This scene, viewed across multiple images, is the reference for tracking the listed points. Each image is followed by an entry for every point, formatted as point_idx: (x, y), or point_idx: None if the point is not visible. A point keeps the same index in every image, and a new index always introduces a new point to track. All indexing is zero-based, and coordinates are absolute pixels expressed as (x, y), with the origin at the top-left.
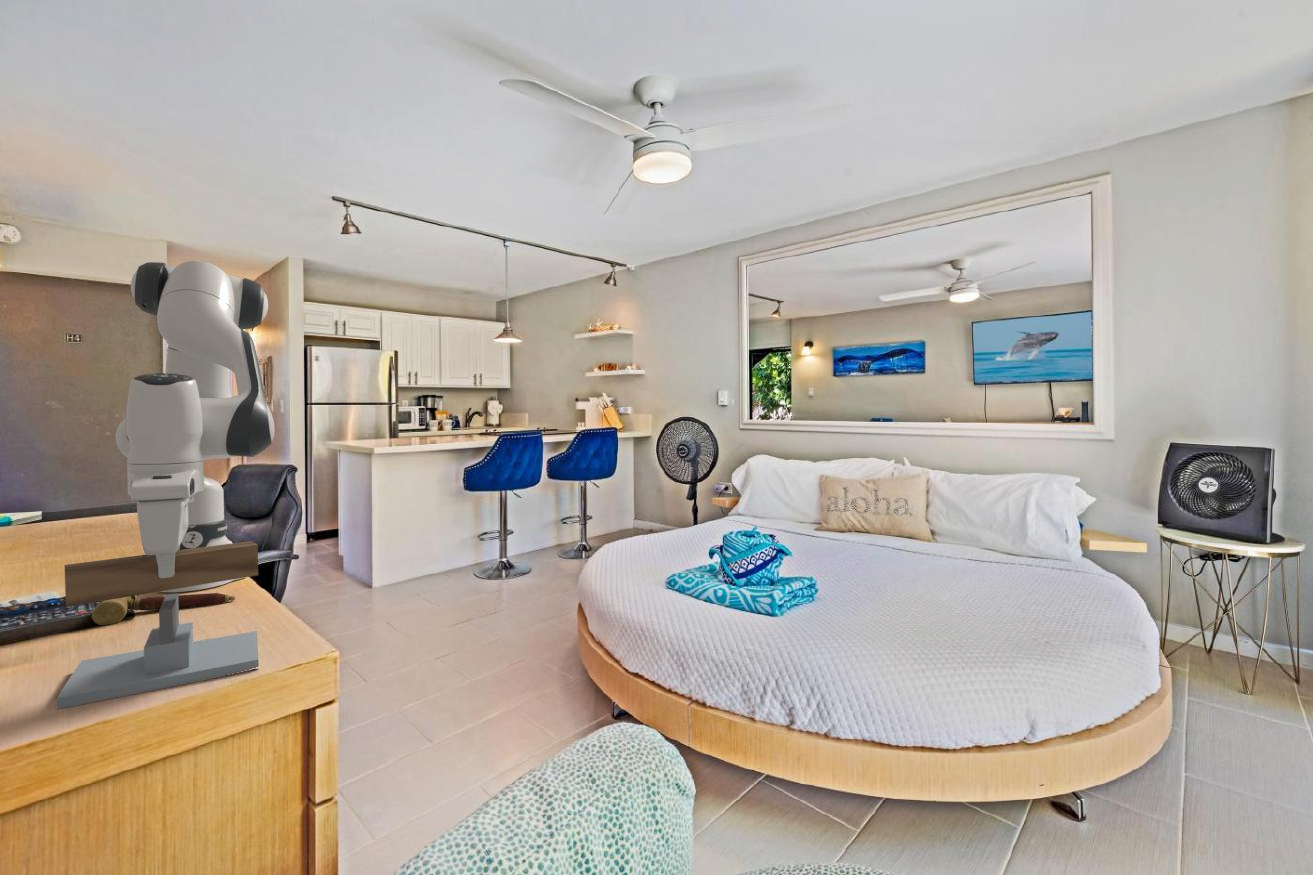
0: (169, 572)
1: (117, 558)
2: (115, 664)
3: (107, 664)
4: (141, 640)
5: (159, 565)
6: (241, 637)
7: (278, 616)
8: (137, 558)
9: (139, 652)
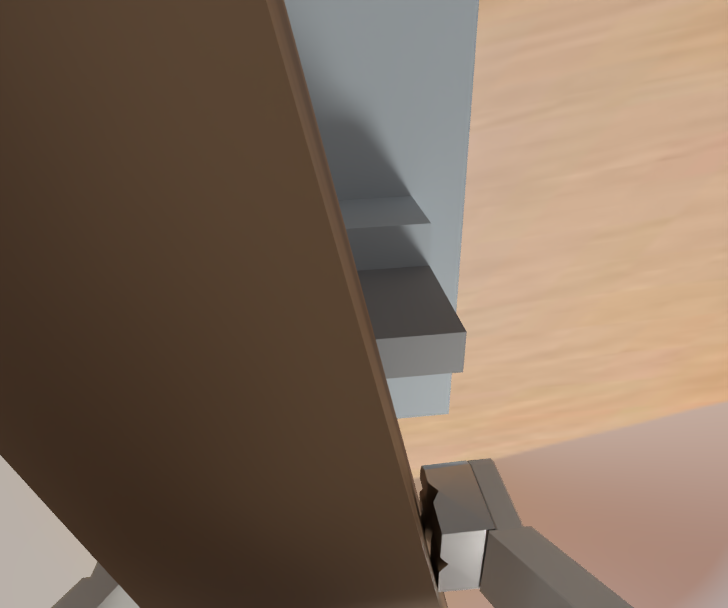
0: None
1: (336, 325)
2: (362, 101)
3: (378, 74)
4: (669, 113)
5: (77, 594)
6: (416, 388)
7: (602, 421)
8: (210, 508)
9: (449, 154)
